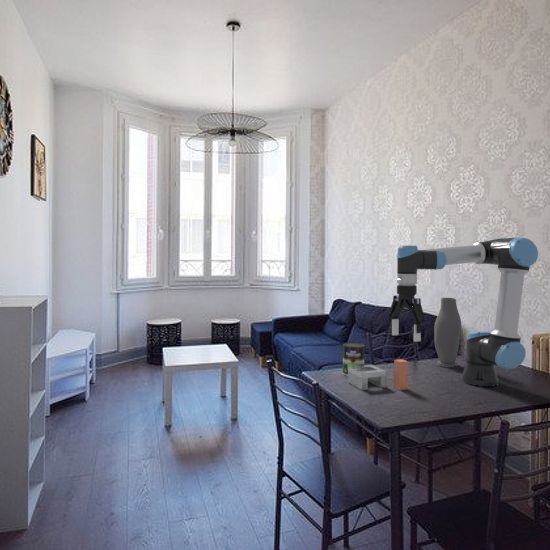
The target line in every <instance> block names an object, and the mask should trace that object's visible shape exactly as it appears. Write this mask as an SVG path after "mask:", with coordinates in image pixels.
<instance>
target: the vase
mask: <svg viewBox="0 0 550 550" xmlns="http://www.w3.org/2000/svg"><path fill="white" fill-rule="evenodd" d="M461 319H462V318H461V315H460V313H459V309H458V305H457V300H456V298H454V297H441V299H440V309H439V312H438V315H437V317H436V319H435V322H434V326H433V327H434V329H433V330H434V331H433V332H434V339H433V340H434V347H435V350H436V354H437V357H438V360H437V361H436V366H437V365H438V367H440V366H442V367H441V368H455V367H454V366H456V365H457V366H458V362H457V361H456V360H457V357H458V352H459V346H460V340H461V332H462V320H461ZM457 366H456V367H457Z"/></svg>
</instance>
